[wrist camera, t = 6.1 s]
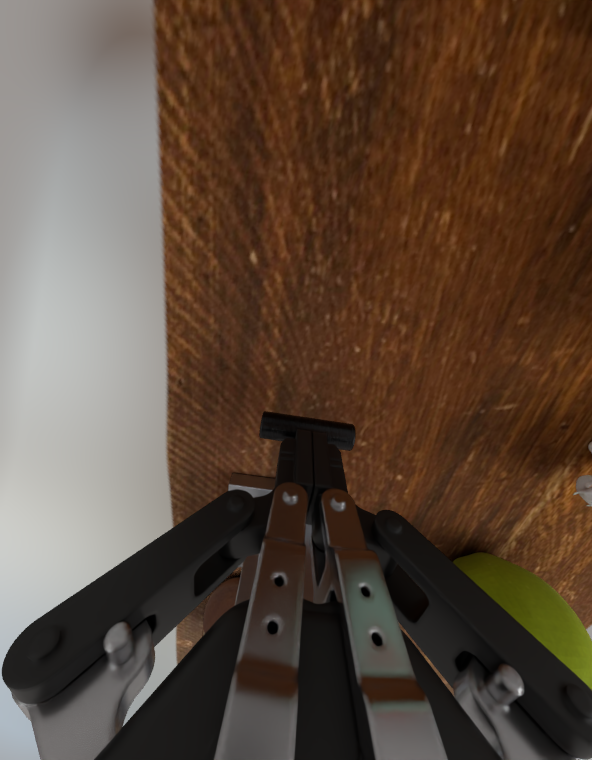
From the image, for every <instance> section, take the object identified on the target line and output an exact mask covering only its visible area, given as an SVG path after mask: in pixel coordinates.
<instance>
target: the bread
mask: <svg viewBox="0 0 592 760" xmlns="http://www.w3.org/2000/svg"><path fill="white" fill-rule="evenodd" d="M239 581H240V578H239V577H237V578H232V579H229V580H227V581H225V582H224V583H222V584H221V585H220V586H219V587H218V588H217V589H216V590H215V591H214V592H213V593H212V595H211V596H210V598H209V600H208V602H207V604H206V607H205V612H204V618H203V632H202V637H203V635H204V634H205V633H206V632H207V631H208V630H209V629H210V628H211V626H212V625H213V624H214V623H215V622H216V621H217V620H218V619H219V618H220V617H221V616H222V615H223V614H224V613H225V612H226V611H228V610H229V609H230V608H232V607H233V606H235V601H236V596H237V591H238V586H239Z"/></svg>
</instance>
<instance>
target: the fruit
mask: <svg viewBox="0 0 592 760" xmlns="http://www.w3.org/2000/svg"><path fill="white" fill-rule="evenodd" d="M453 563H454V564H455V565H456V566H457V567H458V568H459V569H460V570H462V571H463V572H464V573H465V574H466V575H467V576H468V577H469V578H470V579H471V580H473V581H474V582H475V583H476V584H477V585H478V586H479V587H480V588H481V589H482V590H483V591H485V592H486V593H487V594H488V595H489V596H490V597H491V598H492V599H493V600H494V601H496V602H497V603H498V604H499V605H500V606H501V607H502V608H503V609H504V610H505V611H507V612H508V613H509V614H510V615H511V616H512V617H513V618H514V619H515V620H516V621H518V622H519V623H520V624H521V625H522V626H523V627H524V628H525V629H526V630H527V631H529V632H530V633H531V634H532V635H533V636H534V637H535V638H536V639H537V640H538V641H539V642H541V643H542V644H543V645H544V646H545V647H546V648H547V649H548V650H549V651H550V652H552V653H553V654H554V655H555V656H556V657H557V658H558V659H559V660H560V661H561V662H563V663H564V664H565V665H566V666H567V667H568V668H569V669H570V670H571V671H572V672H574V673H575V674H576V675H577V676H578V677H579V678H580V679H581V680H582V681H583V682H584V683H585V684H586V685H587V686H588V687H589V688H590V689H591V690H592V641H591V638H590V636H589V634H588V633H587V631H586V629H585V627H584V626H583V624H582V622H581V621H580V619H579V618H578V616H577V615H576V614H575V612H574V611H573V610H572V608H571V607H570V606H569V605H568V604H567V602H566V601H565V600H564V599H563V598H562V597H561V596H560V595H559V594H558V593H557V592H556V591H555V590H554V589H553V588H552V587H551V586H550V585H548V584H547V583H546V582H545V581H543V580H542V579H541V578H539V577H538V576H536V575H535V574H533V573H531V572H530V571H528V570H526V569H524V568H522V567H520V566H518V565H515V564H513V563H511V562H509V561H506V560H504V559H502V558H499V557H497V556H494V555H491V554H488V553H483V552H478V553H474V554H470V555H468V556H464V557H459V558H457V559H455V560H454V561H453Z"/></svg>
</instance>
